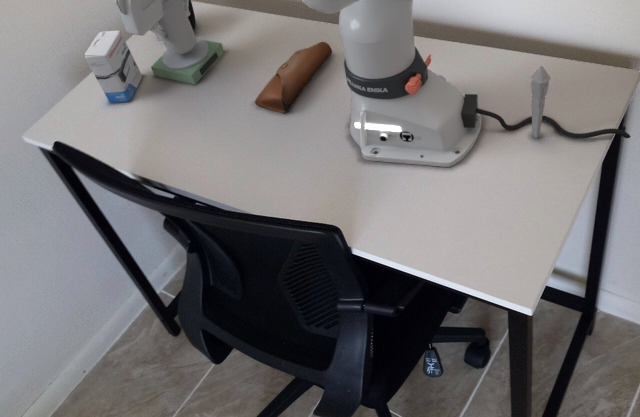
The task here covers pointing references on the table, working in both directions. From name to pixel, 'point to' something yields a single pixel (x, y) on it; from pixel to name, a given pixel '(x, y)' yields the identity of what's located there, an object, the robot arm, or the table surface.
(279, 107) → the sunglasses case
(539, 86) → the pen
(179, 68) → the scale
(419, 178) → the table surface
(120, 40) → the ink box
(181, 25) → the beverage can
